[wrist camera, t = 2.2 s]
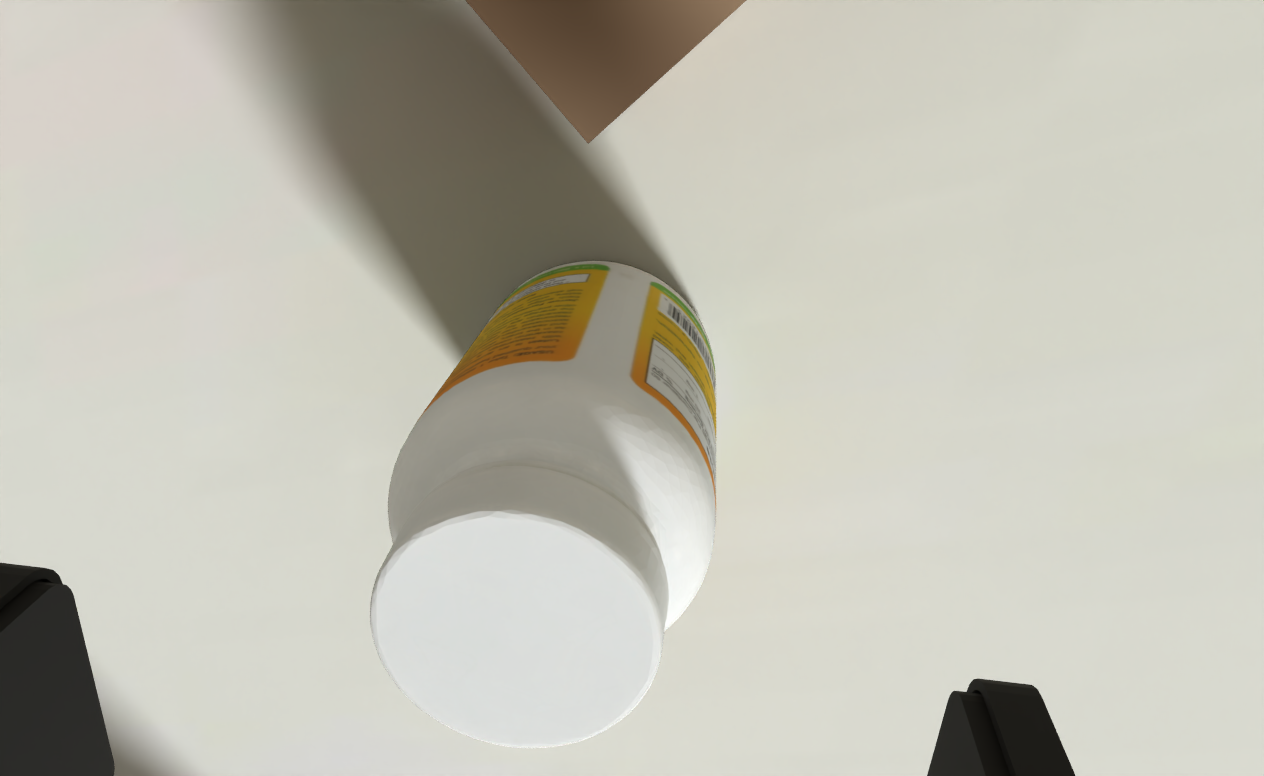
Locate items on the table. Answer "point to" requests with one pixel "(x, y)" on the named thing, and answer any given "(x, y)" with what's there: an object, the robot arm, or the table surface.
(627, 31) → the walnut riser
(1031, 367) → the table surface
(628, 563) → the supplement bottle
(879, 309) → the table surface
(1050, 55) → the table surface
